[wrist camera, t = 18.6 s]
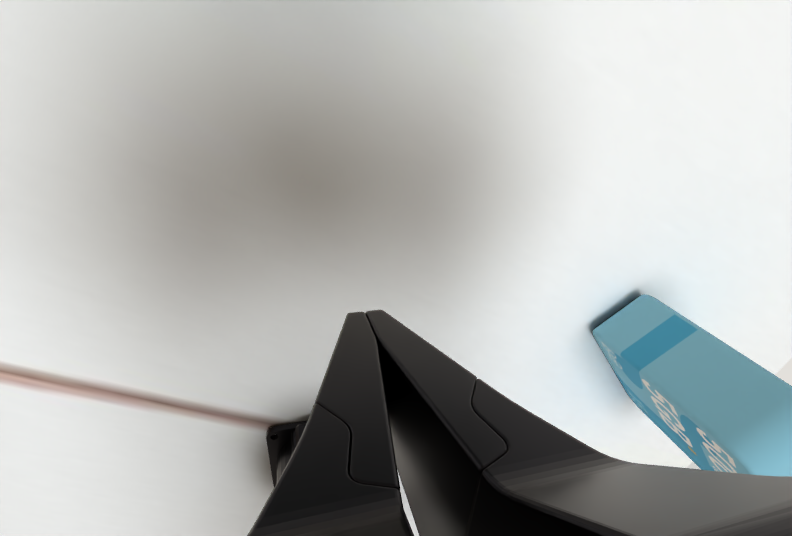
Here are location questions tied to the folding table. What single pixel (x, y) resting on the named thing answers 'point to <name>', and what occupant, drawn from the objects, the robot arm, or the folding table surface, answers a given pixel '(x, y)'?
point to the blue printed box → (700, 390)
